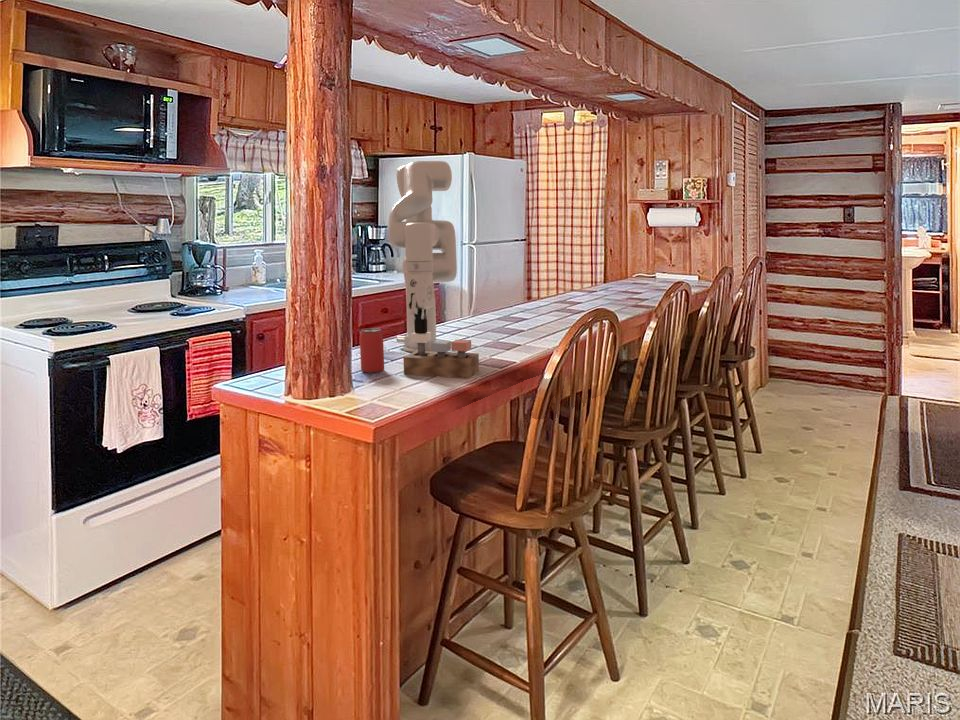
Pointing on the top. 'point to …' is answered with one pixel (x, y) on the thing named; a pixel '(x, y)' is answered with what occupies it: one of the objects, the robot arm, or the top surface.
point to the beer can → (371, 350)
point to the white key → (421, 341)
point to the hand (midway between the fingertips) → (421, 332)
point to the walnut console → (441, 364)
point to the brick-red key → (461, 347)
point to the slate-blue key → (440, 347)
